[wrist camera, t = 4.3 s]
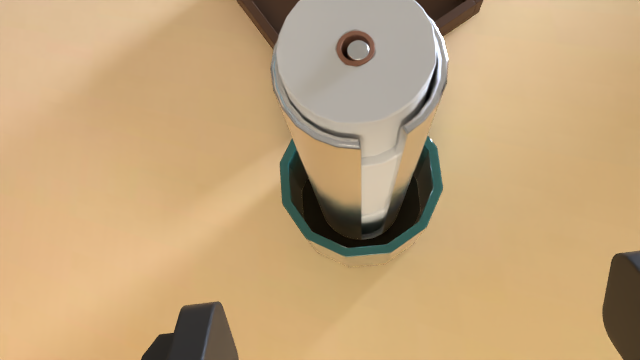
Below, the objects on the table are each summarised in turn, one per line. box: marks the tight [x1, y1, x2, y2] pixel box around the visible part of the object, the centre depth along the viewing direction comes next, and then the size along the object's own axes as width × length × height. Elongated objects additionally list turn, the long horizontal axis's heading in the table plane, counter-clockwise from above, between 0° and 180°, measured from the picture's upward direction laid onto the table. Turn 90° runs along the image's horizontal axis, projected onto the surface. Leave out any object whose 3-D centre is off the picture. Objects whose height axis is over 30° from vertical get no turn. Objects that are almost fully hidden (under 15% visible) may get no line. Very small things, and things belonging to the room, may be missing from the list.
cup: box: [280, 135, 443, 267], centre depth 38 cm, size 11×11×8 cm
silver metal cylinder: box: [270, 0, 449, 240], centre depth 30 cm, size 6×6×25 cm
